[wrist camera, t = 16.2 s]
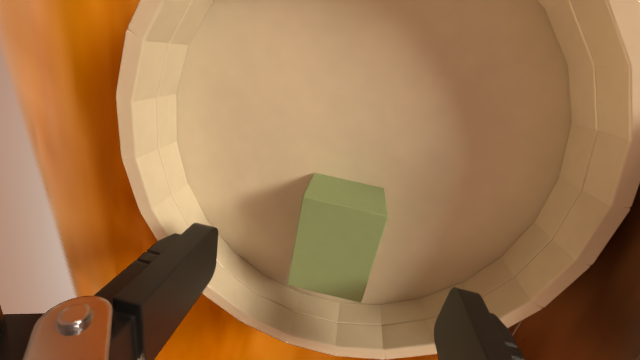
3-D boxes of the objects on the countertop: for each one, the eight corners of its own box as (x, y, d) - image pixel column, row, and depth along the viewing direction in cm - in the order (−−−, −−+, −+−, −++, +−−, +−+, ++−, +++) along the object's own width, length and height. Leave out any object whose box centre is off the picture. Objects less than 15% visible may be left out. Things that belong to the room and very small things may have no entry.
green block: (313, 171, 12) (302, 195, 10) (384, 187, 12) (388, 216, 10) (299, 249, 14) (286, 285, 12) (361, 264, 14) (361, 303, 11)
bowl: (166, -134, 10) (86, -214, 7) (690, -48, 9) (844, -100, 6) (173, 261, 16) (133, 303, 13) (475, 337, 15) (500, 400, 12)
